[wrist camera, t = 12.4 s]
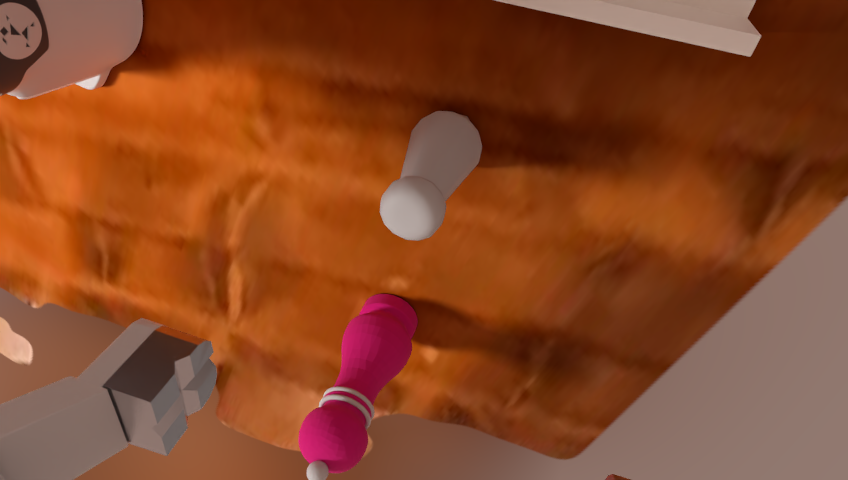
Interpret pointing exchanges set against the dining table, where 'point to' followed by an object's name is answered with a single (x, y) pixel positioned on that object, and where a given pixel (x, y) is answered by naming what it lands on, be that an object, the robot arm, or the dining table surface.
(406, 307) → the pepper mill
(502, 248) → the dining table surface
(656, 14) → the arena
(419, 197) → the salt shaker
